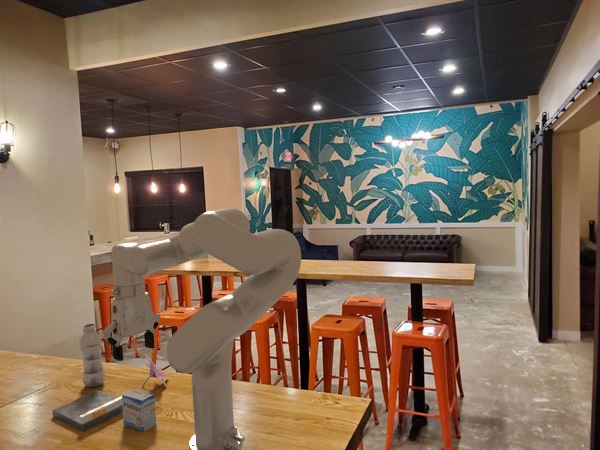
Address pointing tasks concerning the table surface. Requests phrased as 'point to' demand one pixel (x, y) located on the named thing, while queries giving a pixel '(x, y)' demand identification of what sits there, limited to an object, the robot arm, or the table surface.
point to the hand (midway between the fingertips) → (134, 353)
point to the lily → (155, 372)
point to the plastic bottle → (91, 357)
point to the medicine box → (139, 410)
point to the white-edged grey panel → (89, 410)
